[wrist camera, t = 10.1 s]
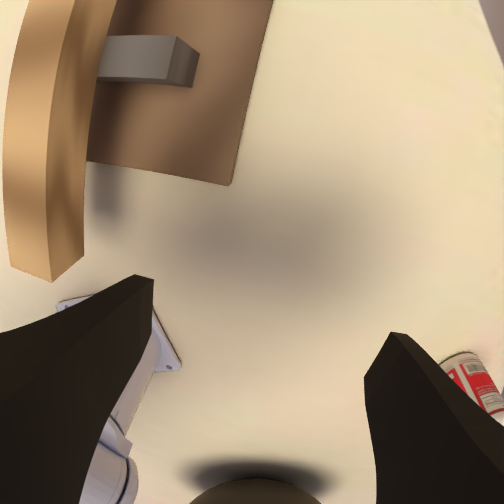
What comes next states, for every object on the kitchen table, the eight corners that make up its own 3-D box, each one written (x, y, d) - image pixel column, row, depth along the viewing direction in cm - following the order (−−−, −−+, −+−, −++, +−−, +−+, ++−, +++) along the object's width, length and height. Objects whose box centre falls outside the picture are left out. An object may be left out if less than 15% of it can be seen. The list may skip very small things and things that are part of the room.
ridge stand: (26, 150, 17) (-21, 164, 13) (54, -1, 12) (10, -14, 8) (231, 182, 17) (213, 206, 13) (275, -9, 12) (273, -49, 8)
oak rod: (84, 255, 15) (51, 282, 12) (44, 243, 14) (10, 266, 12) (160, -99, 6) (139, -126, 3) (111, -89, 6) (85, -111, 3)
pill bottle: (424, 404, 24) (453, 495, 14) (421, 368, 22) (460, 474, 12) (476, 379, 23) (515, 462, 13) (480, 339, 21) (533, 432, 11)
